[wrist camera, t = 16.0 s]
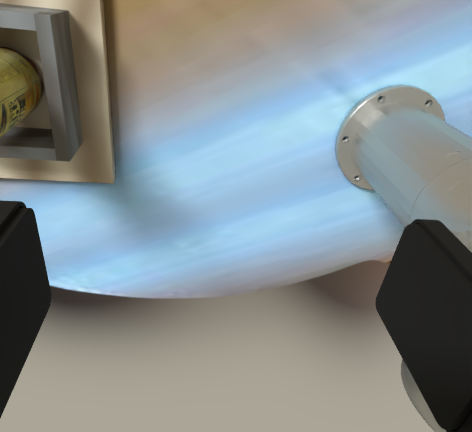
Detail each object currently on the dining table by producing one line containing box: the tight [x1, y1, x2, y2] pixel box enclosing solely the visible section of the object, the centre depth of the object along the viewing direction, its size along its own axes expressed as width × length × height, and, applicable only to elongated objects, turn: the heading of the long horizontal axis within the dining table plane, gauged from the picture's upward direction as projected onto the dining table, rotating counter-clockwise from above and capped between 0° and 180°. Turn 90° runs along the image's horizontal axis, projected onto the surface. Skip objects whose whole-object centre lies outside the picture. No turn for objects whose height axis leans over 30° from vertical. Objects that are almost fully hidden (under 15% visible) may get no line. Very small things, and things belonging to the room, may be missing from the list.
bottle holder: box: [0, 0, 116, 184], centre depth 35 cm, size 17×22×6 cm
